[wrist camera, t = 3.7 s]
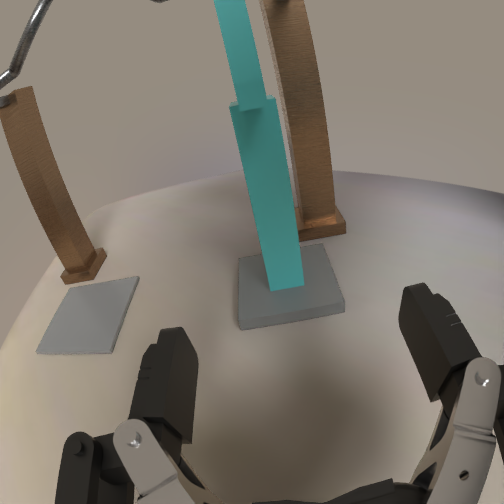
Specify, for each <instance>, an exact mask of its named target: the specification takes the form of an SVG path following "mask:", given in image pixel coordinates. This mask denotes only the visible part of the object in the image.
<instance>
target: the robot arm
mask: <svg viewBox="0 0 504 504" xmlns="http://www.w3.org/2000/svg"><path fill="white" fill-rule="evenodd" d="M399 327H400V330H401V333H402V335H403V337H404V339H405V341H406V344H407V346H408V348H409V350H410V353H411V355H412V357H413V360H414V362H415V364H416V367H417V369H418V372H419V374H420V376H421V379H422V381H423V384H424V386H425V389H426V392H427V394H428V397H429V399H430V402H434V401H436V400H439V399H440V400H441V402H442V407H441V410H440V413H439V416H438V419H437V422H436V425H435V428H434V431H433V433H432V436H431V439H430V441H429V444H428V447H427V449H426V452H425V454H424V455H423V457H422V459H421V460H420V462H419V464H418V465H417V467H416V469H415V471H414V473H413V476H412V478H411V480H410V482H409V483H399V482H395V483H393V480H392V478H391V479H388V480H384V481H381V482H377V483H374V484H370V485H366V486H362V487H359V488H357V489H355V490H353V491H350V492H348V493H346V494H344V495H342V496H339V497H337V498H335V499H333V500H330V501H328V502H324V503H316V502H302V501H291V500H282V501H271V502H255V503H252V504H477V503H478V500H479V498H480V495H481V492H482V489H483V487H484V484H485V481H486V478H487V475H488V472H489V468H490V465H491V462H492V458H493V454H494V451H495V447H496V438H497V441H498V445H499V448H500V452H501V456H502V459H503V463H504V365H497V364H496V363H495V362H494V361H493V360H491V359H489V358H485V357H482V356H481V354H480V353H479V351H478V349H477V347H476V346H475V344H474V342H473V340H472V339H471V337H470V335H469V333H468V332H467V330H466V328H465V327H464V325H463V323H461V320H460V318H459V317H458V315H457V314H456V313H455V310H454V309H453V307H452V306H451V304H450V303H449V301H448V300H446V299H445V298H444V297H442V296H441V295H440V294H438V293H437V294H434V295H433V294H432V292H431V291H430V289H429V288H428V286H427V285H426V284H425V283H419V284H415V285H411V286H407V287H405V288H404V290H403V295H402V300H401V306H400V311H399ZM197 377H198V357H197V353H196V351H195V349H194V347H193V345H192V344H191V342H190V340H189V338H188V336H187V334H186V333H185V331H184V329H183V328H182V327H175V328H166V329H161V330H160V333H159V337H158V341H157V344H151V345H150V346H149V348H148V349H147V350H146V352H145V353H144V355H143V358H142V362H141V366H140V370H139V374H138V380H137V383H136V387H135V391H134V396H133V400H132V405H131V410H130V414H129V417H128V420H126V421H124V422H123V423H121V424H120V425H119V426H118V427H117V429H116V430H115V432H114V433H111V434H107V435H102V436H98V437H94V438H92V437H91V436H89V435H88V434H87V433H84V432H75V433H73V434H72V435H70V436H69V437H68V438H67V440H66V442H65V444H64V448H63V453H62V459H61V464H60V470H59V476H58V483H57V490H56V497H55V504H134V486H136V488H137V490H138V492H139V494H140V496H139V497H138V500H137V501H138V504H224V503H223V502H222V501H221V500H220V499H219V498H218V497H217V496H216V495H215V494H214V493H212V492H211V491H210V490H209V488H208V487H207V486H206V485H205V484H204V482H203V481H202V480H201V479H200V477H199V476H198V475H197V473H196V472H195V471H194V470H193V468H192V467H191V466H190V464H189V463H188V462H187V460H186V459H185V457H184V456H183V455H182V453H181V445H182V444H192V433H193V420H194V409H195V397H196V387H197ZM493 428H494V432H495V435H496V436H495V435H493V434H492V429H493Z"/></svg>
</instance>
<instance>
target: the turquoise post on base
mask: <svg viewBox="0 0 504 504" xmlns="http://www.w3.org/2000/svg"><path fill="white" fill-rule="evenodd" d="M214 3H215V8H216V12H217V16H218V20H219V24H220V28H221V32H222V36H223V41H224V45H225V49H226V53H227V57H228V62H229V66H230V70H231V75H232V79H233V83H234V88H235V92H236V96H237V101H236V102H231V104H230V106H229V109H230V113H231V117H232V122H233V126H234V130H235V135H236V139H237V143H238V147H239V151H240V156H241V161H242V165H243V169H244V174H245V178H246V183H247V187H248V191H249V196H250V200H251V205H252V209H253V214H254V218H255V223H256V227H257V232H258V236H259V241H260V245H261V250H262V254H260V255H254V256H249V257H243V258H239V287H238V321H239V324H240V327H241V330H247V329H253V328H260V327H266V326H272V325H278V324H284V323H290V322H296V321H301V320H307V319H312V318H317V317H323V316H328V315H333V314H337V313H342V312H345V301H344V298H343V295H342V293H341V290H340V287H339V285H338V282H337V279H336V277H335V274H334V271H333V269H332V266H331V264H330V261H329V259H328V256H327V254H326V251H325V249H324V246H323V244H322V243H321V244H315V245H310V246H304V247H300V245H299V238H298V231H297V224H296V217H295V210H294V203H293V197H292V190H291V184H290V178H289V171H288V166H287V159H286V154H285V148H284V142H283V136H282V131H281V126H280V120H279V115H278V109H277V105H276V99H275V97H273V96H272V95H268V96H266V92H265V88H264V83H263V79H262V73H261V69H260V64H259V59H258V55H257V51H256V47H255V42H254V37H253V33H252V29H251V25H250V20H249V16H248V12H247V8H246V4H245V0H214Z"/></svg>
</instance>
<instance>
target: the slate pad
mask: <svg viewBox="0 0 504 504" xmlns="http://www.w3.org/2000/svg"><path fill="white" fill-rule="evenodd" d="M138 281H139V277H138V276H136V277H131V278H125V279H119V280H113V281H108V282H102V283H96V284H91V285H85V286H79V287H73V288H70V289H69V290H68V292H67V294H66V296H65V297H64V299H63V301H62V302H61V304H60V306H59V308H58V310H57V311H56V313H55V315H54V317H53V319H52V321H51V322H50V324H49V326H48V328H47V330H46V332H45V334H44V336H43V338H42V340H41V342H40V344H39V346H38V348H37V350H36V353H37V354H101V353H112V351H113V348H114V345H115V342H116V340H117V337H118V334H119V331H120V328H121V325H122V323H123V320H124V317H125V314H126V312H127V309H128V306H129V304H130V301H131V299H132V296H133V293H134V291H135V288H136V286H137V283H138Z"/></svg>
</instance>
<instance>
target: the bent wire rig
mask: <svg viewBox="0 0 504 504" xmlns="http://www.w3.org/2000/svg"><path fill="white" fill-rule="evenodd" d="M52 1H53V0H39V1H38V3H37V5H36V7H35V9H34V11H33V13H32V15H31V17H30V19H29V21H28V23H27V25H26V27H25V30H24V32H23V34H22V36H21V39H20V41H19V44H18V46H17V49H16V51H15V54H14V56H13V59H12V62H11V65H10V67H9V69H7V70H6V71H5V72H3V73H2V74H1V75H0V89H1V88H3V87H4V86H5V85H6V84H8V83H9V82H11V81H12V80H13V79H15V78H16V77H17V76H18V75H19V74H20V72H21V69H22V66H23V64H24V61H25V58H26V55H27V53H28V51H29V49H30V46H31V44H32V41H33V39H34V37H35V35H36V33H37V30H38V28H39V26H40V24H41V22H42V20H43V18H44V16H45V14H46V12H47V10H48V8H49V6H50V4H51V3H52ZM151 1H154V2H157V3H162V2H165V1H168V0H151ZM259 3H260V7H261V11H262V15H263V19H264V24H265V28H266V32H267V37H268V41H269V46H270V50H271V55H272V60H273V64H274V69H275V74H276V79H277V84H278V89H279V94H280V99H281V105H282V109H283V115H284V120H285V126H286V132H287V137H288V144H289V148H290V149H289V150H290V155H291V161H292V168H293V174H294V181H295V187H296V194H297V201H298V207H297V208H294V210H295V217H296V224H297V231H298V238H299V242H301V241H306V240H312V239H317V238H323V237H328V236H334V235H339V234H345V233H346V222H345V220H344V219H343V217H342V215H341V214H340V212H339V210H338V209H337V207H336V205H335V198H334V186H333V175H332V165H331V156H330V147H329V139H328V131H327V123H326V116H325V109H324V102H323V96H322V89H321V83H320V77H319V72H318V67H317V61H316V55H315V50H314V45H313V40H312V35H311V31H310V26H309V22H308V17H307V13H306V9H305V5H304V0H259ZM0 119H1V122H2V126H3V129H4V132H5V135H6V138H7V141H8V144H9V148H10V150H11V153H12V156H13V159H14V161H15V164H16V167H17V170H18V172H19V174H20V177H21V180H22V182H23V185H24V187H25V189H26V192H27V194H28V196H29V198H30V201H31V203H32V205H33V207H34V210H35V212H36V214H37V216H38V218H39V220H40V222H41V224H42V226H43V228H44V230H45V232H46V234H47V236H48V238H49V240H50V242H51V244H52V246H53V248H54V250H55V251H56V253H57V255H58V257H59V259H60V260H61V262H62V264H63V266H64V267H65V270H64V272H63V273H62V275H61V276H60V277H61V278H62V280H63V282H64V283H65V285H66V284H71V283H77V282H82V281H87V280H93V279H94V278H95V276H96V274H97V272H98V270H99V269H100V267H101V265H102V264H103V262H104V260H105V258H106V257H107V255H106V253H105V251H104V249H103V248H99V249H94V247H93V245H92V243H91V241H90V239H89V237H88V235H87V233H86V231H85V229H84V227H83V225H82V223H81V220H80V218H79V216H78V214H77V212H76V209H75V207H74V205H73V203H72V200H71V198H70V196H69V193H68V191H67V189H66V186H65V184H64V181H63V179H62V176H61V174H60V171H59V169H58V166H57V163H56V161H55V158H54V155H53V152H52V150H51V147H50V144H49V141H48V138H47V135H46V132H45V129H44V126H43V123H42V120H41V116H40V113H39V110H38V106H37V103H36V99H35V95H34V92H33V88H32V86H29V87H25V88H21V89H17V90H14V91H13V92H11V93H10V94H9V95H6V96H2V97H0Z"/></svg>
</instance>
